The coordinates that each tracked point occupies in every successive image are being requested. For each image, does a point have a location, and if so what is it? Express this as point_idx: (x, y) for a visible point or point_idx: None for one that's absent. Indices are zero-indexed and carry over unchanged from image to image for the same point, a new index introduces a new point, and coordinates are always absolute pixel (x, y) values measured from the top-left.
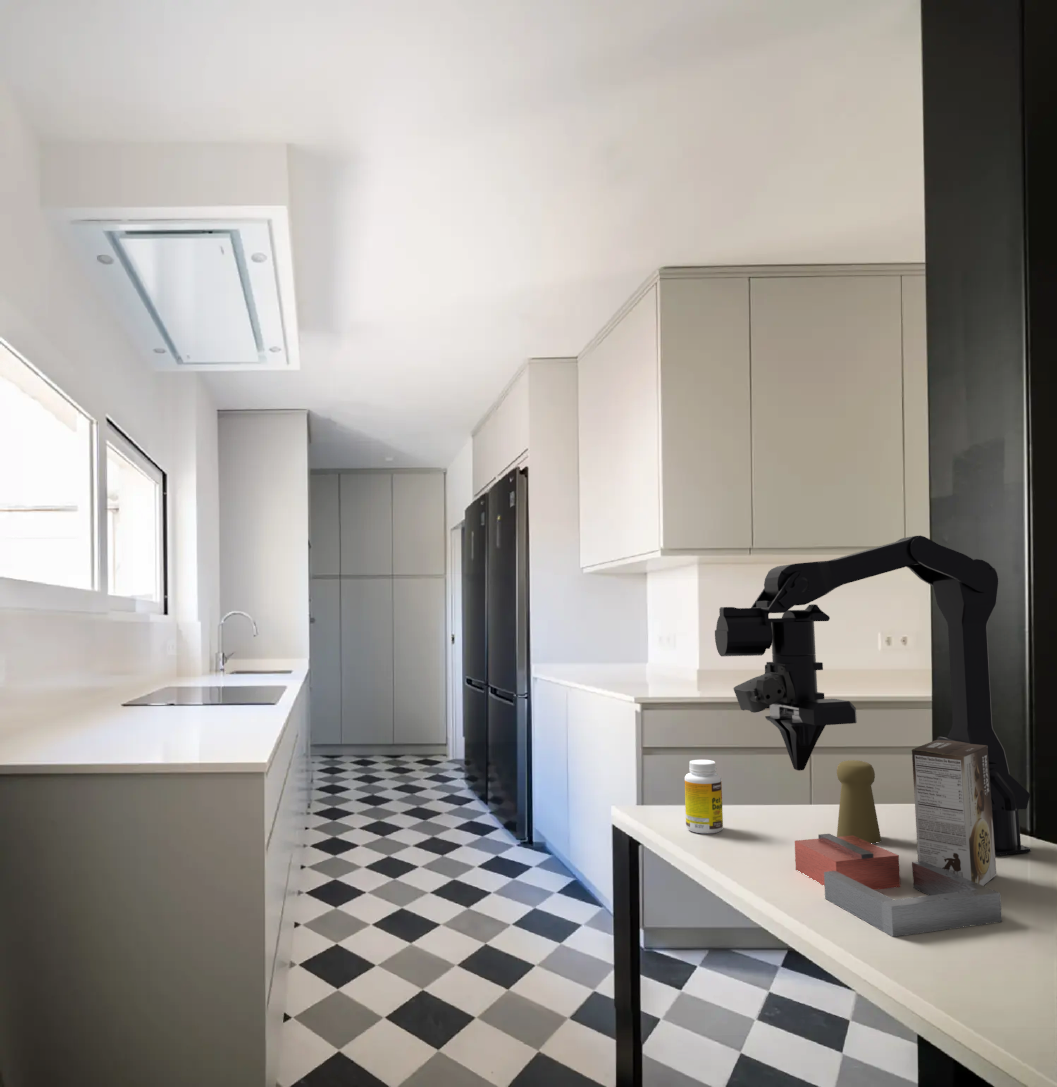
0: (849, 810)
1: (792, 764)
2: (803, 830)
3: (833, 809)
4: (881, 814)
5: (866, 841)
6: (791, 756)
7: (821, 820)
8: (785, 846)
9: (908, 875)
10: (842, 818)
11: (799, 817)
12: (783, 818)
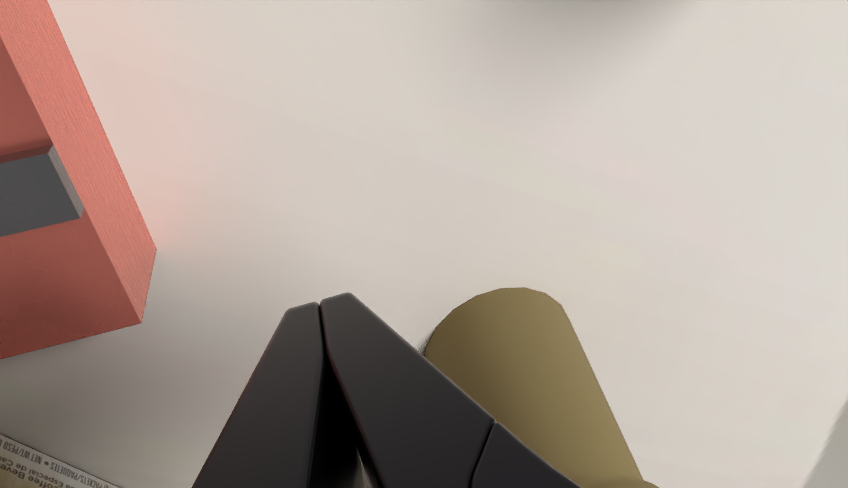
0: (502, 401)
1: (363, 307)
2: (646, 197)
3: (828, 362)
4: (719, 466)
5: (23, 351)
6: (362, 360)
7: (736, 295)
8: (444, 43)
9: (19, 386)
10: (517, 353)
11: (802, 234)
12: (819, 172)
